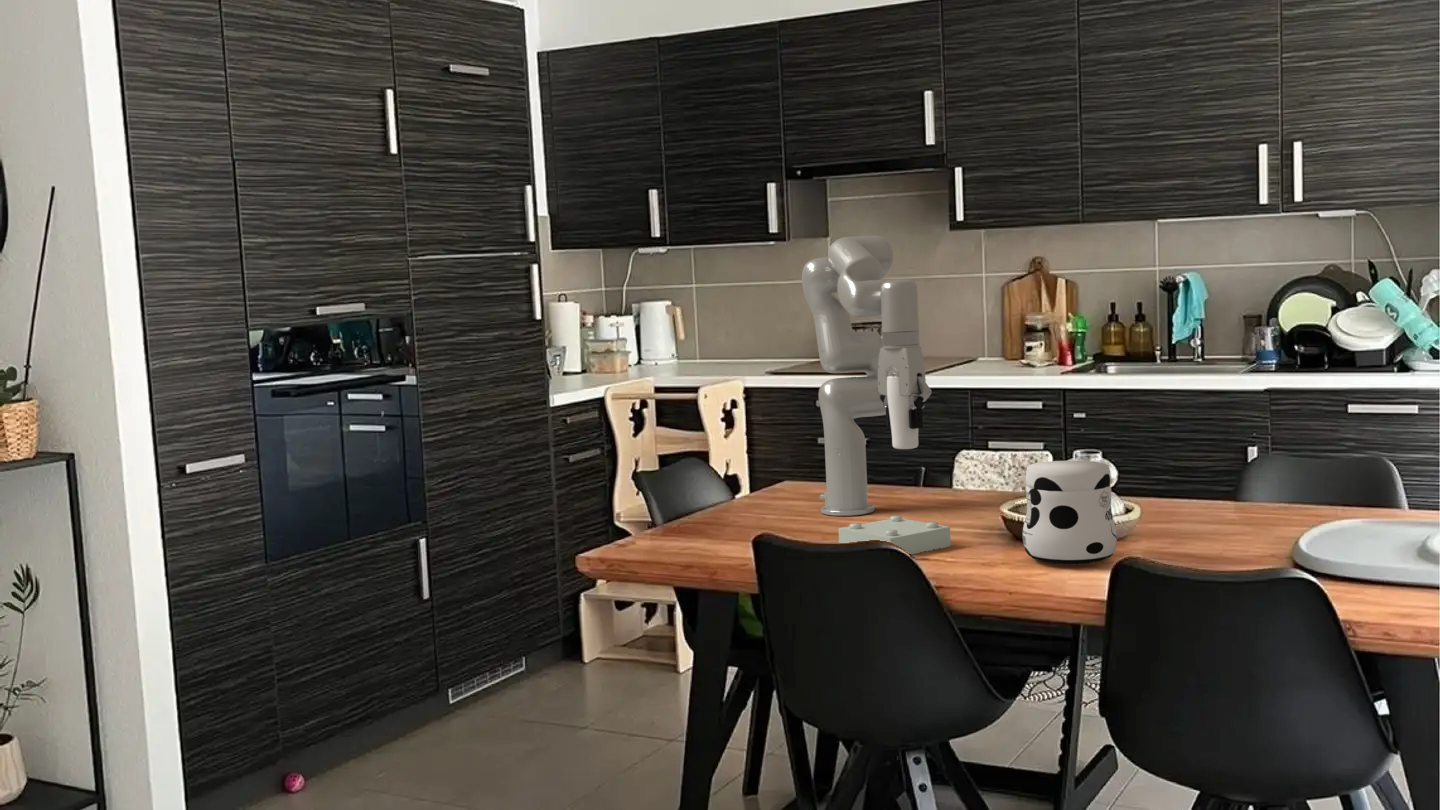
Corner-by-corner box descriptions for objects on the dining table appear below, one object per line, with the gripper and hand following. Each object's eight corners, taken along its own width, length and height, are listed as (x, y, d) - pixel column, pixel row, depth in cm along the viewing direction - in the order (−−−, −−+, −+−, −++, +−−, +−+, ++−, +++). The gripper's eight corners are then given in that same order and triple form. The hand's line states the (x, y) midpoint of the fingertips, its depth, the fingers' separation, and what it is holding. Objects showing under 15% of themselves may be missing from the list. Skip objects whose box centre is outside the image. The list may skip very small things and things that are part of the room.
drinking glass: (918, 449, 282) (915, 376, 281) (885, 450, 284) (883, 377, 283) (924, 445, 288) (922, 373, 287) (892, 445, 291) (889, 374, 289)
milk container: (1137, 559, 260) (1135, 465, 258) (1072, 574, 251) (1069, 476, 249) (1067, 547, 274) (1065, 457, 273) (1004, 560, 265) (1001, 467, 263)
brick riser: (839, 547, 285) (838, 524, 284) (897, 536, 294) (896, 513, 293) (891, 558, 272) (890, 534, 271) (950, 546, 281) (949, 522, 280)
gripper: (859, 341, 289) (862, 427, 291) (917, 341, 275) (920, 431, 277) (885, 339, 293) (889, 423, 295) (944, 339, 279) (947, 427, 281)
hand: (904, 426), depth 286 cm, fingers closed on drinking glass, 6 cm apart
